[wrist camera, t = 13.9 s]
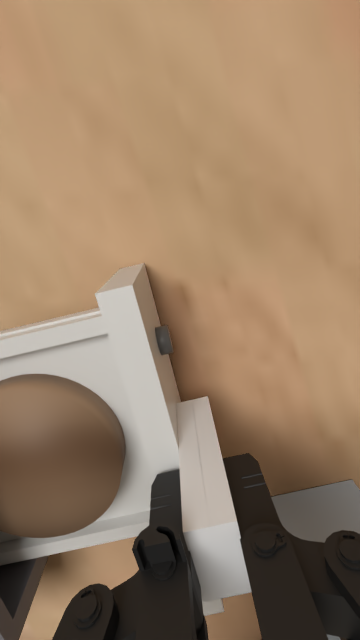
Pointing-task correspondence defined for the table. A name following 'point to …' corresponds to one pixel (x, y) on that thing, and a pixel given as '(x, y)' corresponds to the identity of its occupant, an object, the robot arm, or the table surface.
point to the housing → (18, 594)
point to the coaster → (56, 456)
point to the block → (320, 512)
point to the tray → (108, 400)
